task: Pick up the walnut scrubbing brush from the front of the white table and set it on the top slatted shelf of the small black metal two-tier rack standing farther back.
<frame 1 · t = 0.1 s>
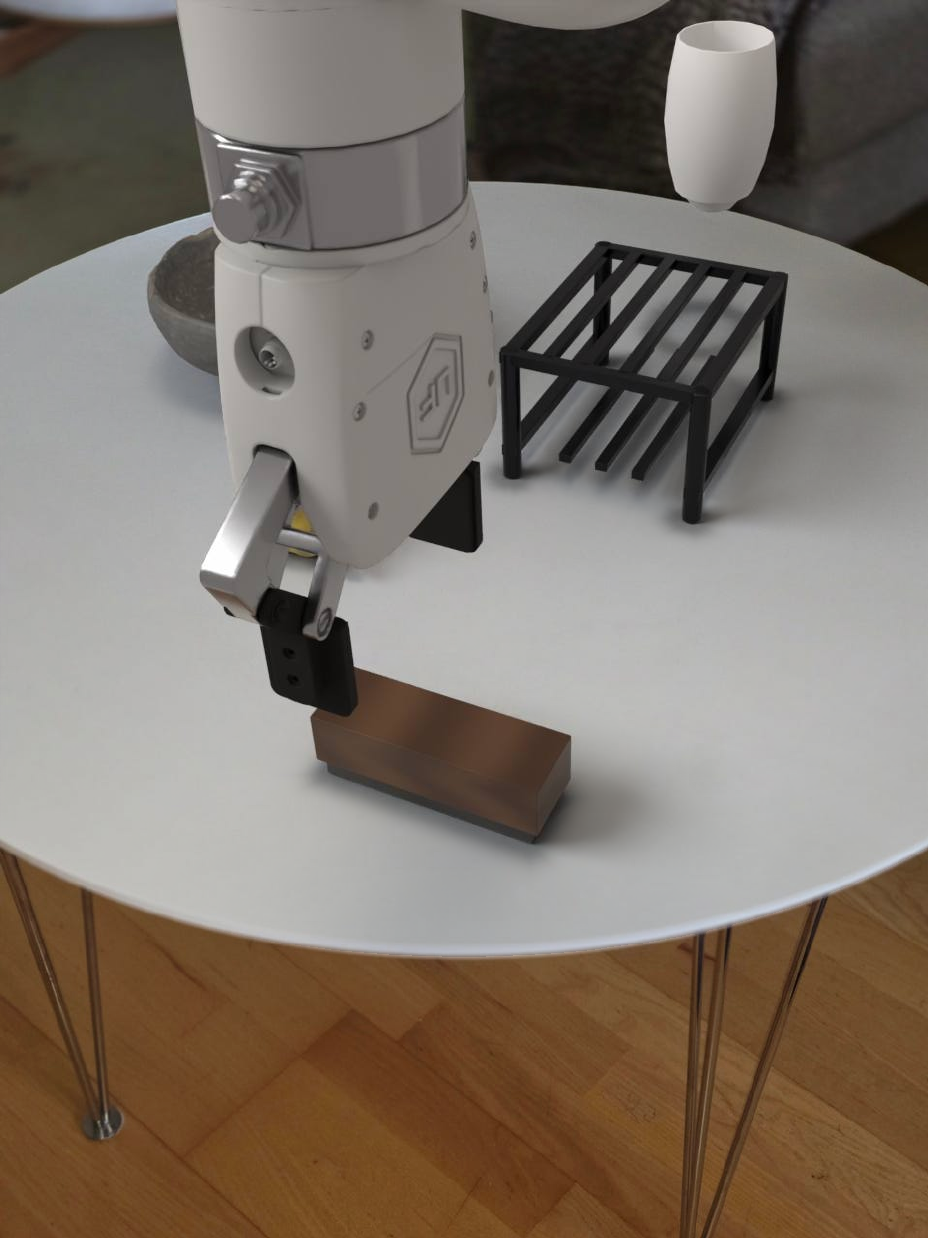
hand: (383, 615, 50), 18 cm above the table, tool pointing down, fingers open, 9 cm apart
bowl: (288, 363, 100), on the table
cup: (701, 329, 101), on the table
brush: (443, 782, 68), on the table
rack: (642, 433, 90), on the table
fruit: (313, 547, 83), on the table
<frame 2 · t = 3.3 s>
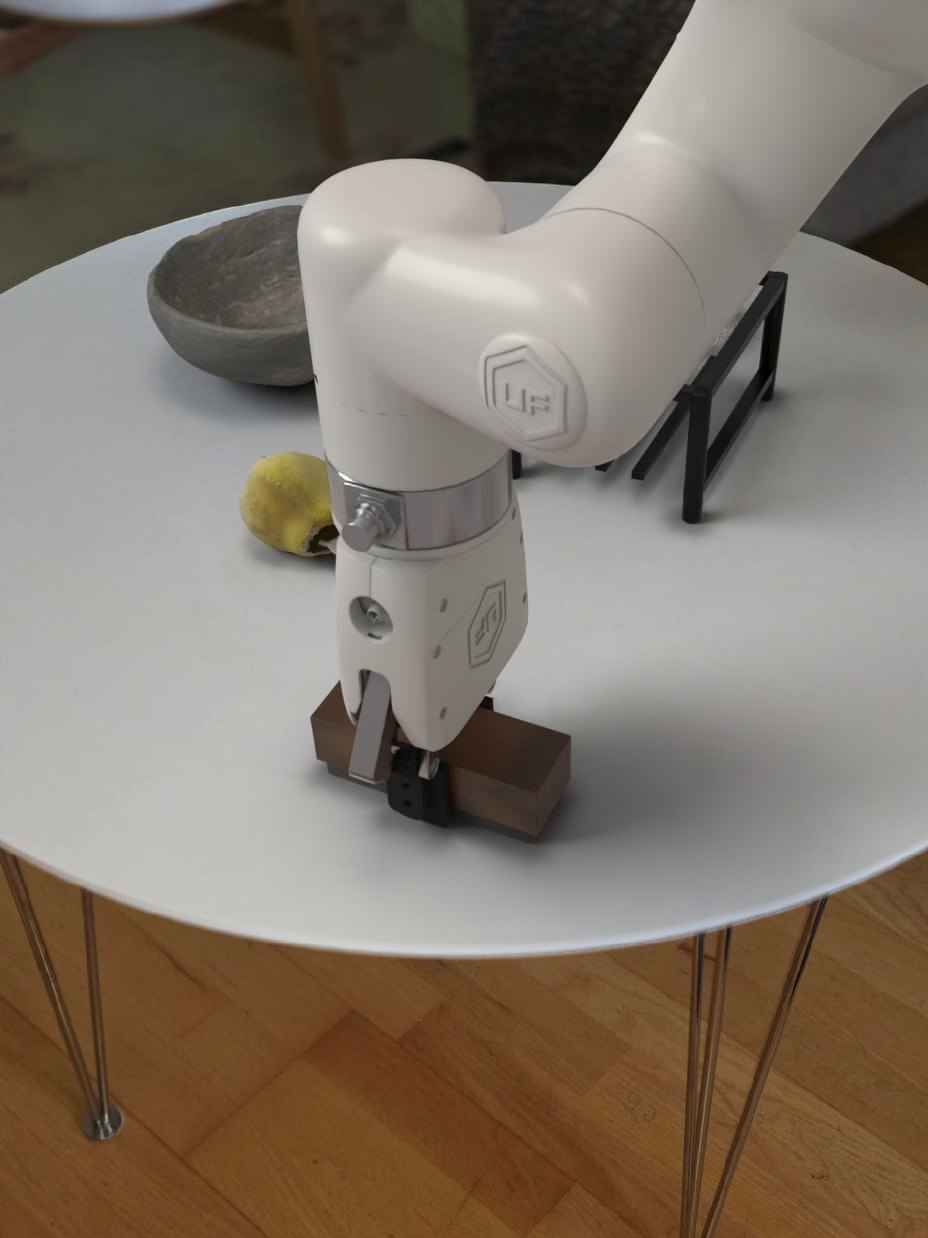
hand: (442, 778, 67), 0 cm above the table, tool pointing down, fingers closed on brush, 4 cm apart
brush: (443, 782, 68), on the table, touching gripper
everything else where it was.
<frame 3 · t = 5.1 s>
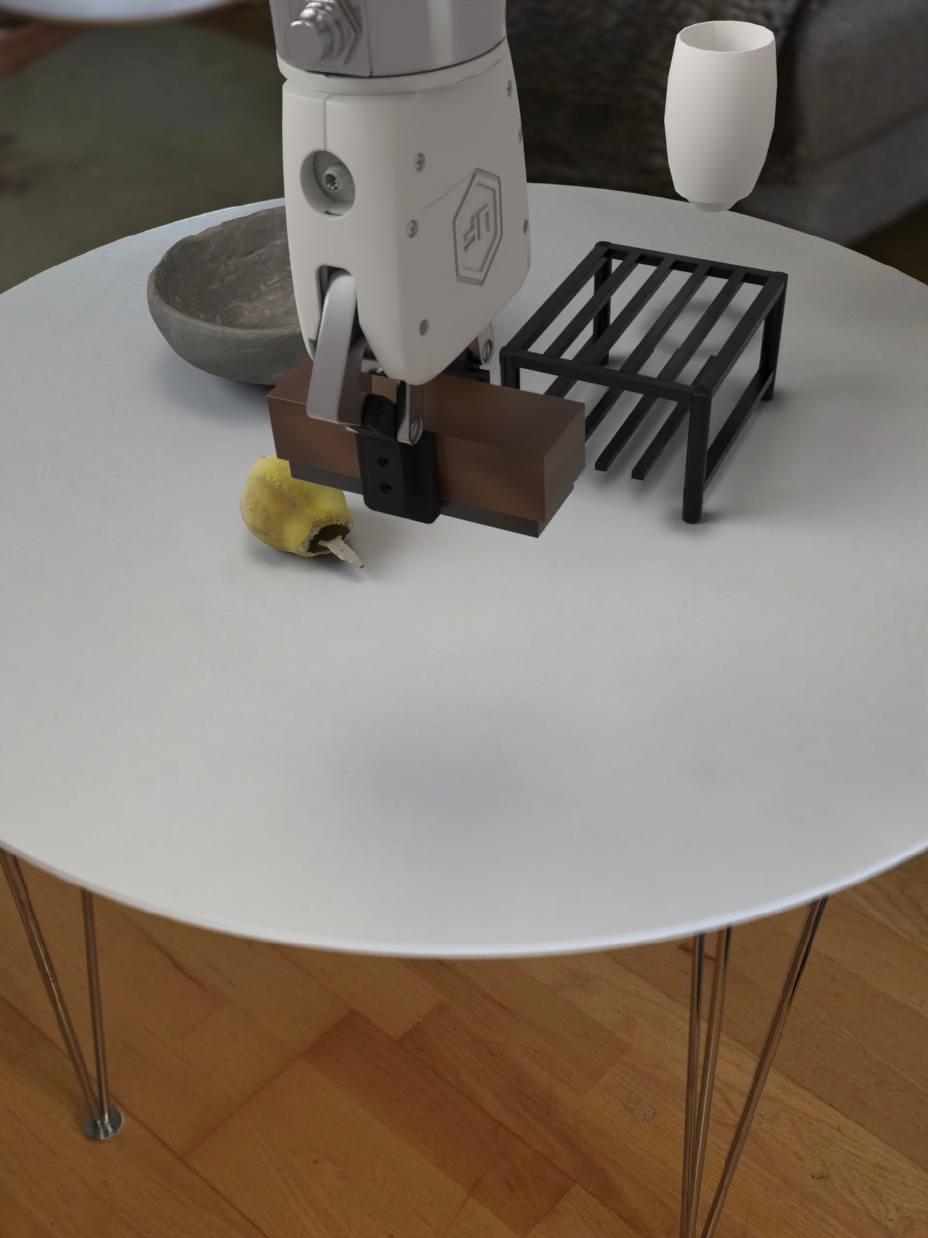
hand: (430, 476, 55), 18 cm above the table, tool pointing down, fingers closed on brush, 4 cm apart
brush: (430, 483, 56), point 18 cm above the table, touching gripper
everything else where it was.
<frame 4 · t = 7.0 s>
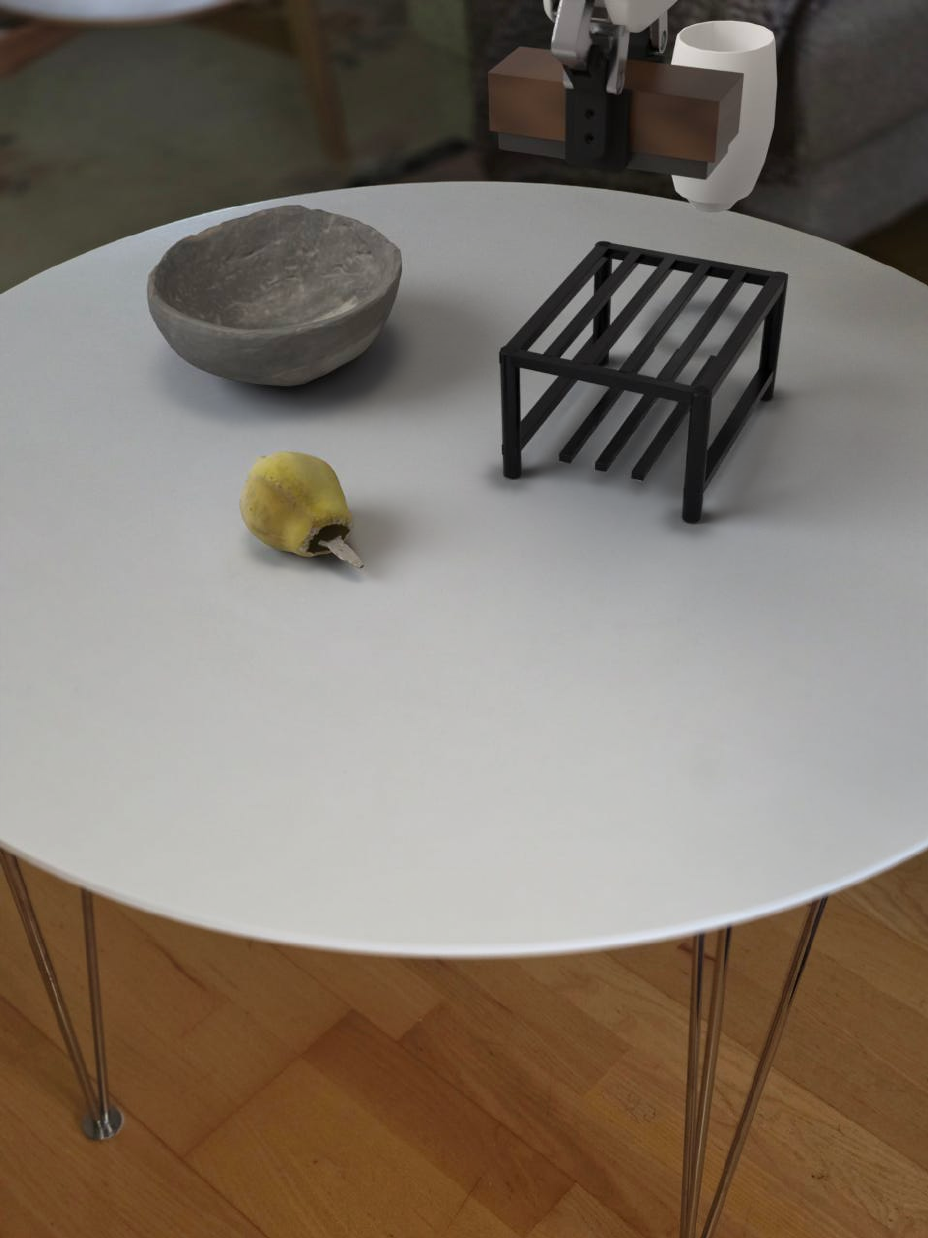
hand: (613, 145, 70), 23 cm above the table, tool pointing down, fingers closed on brush, 4 cm apart
brush: (612, 151, 70), point 22 cm above the table, touching gripper
everything else where it was.
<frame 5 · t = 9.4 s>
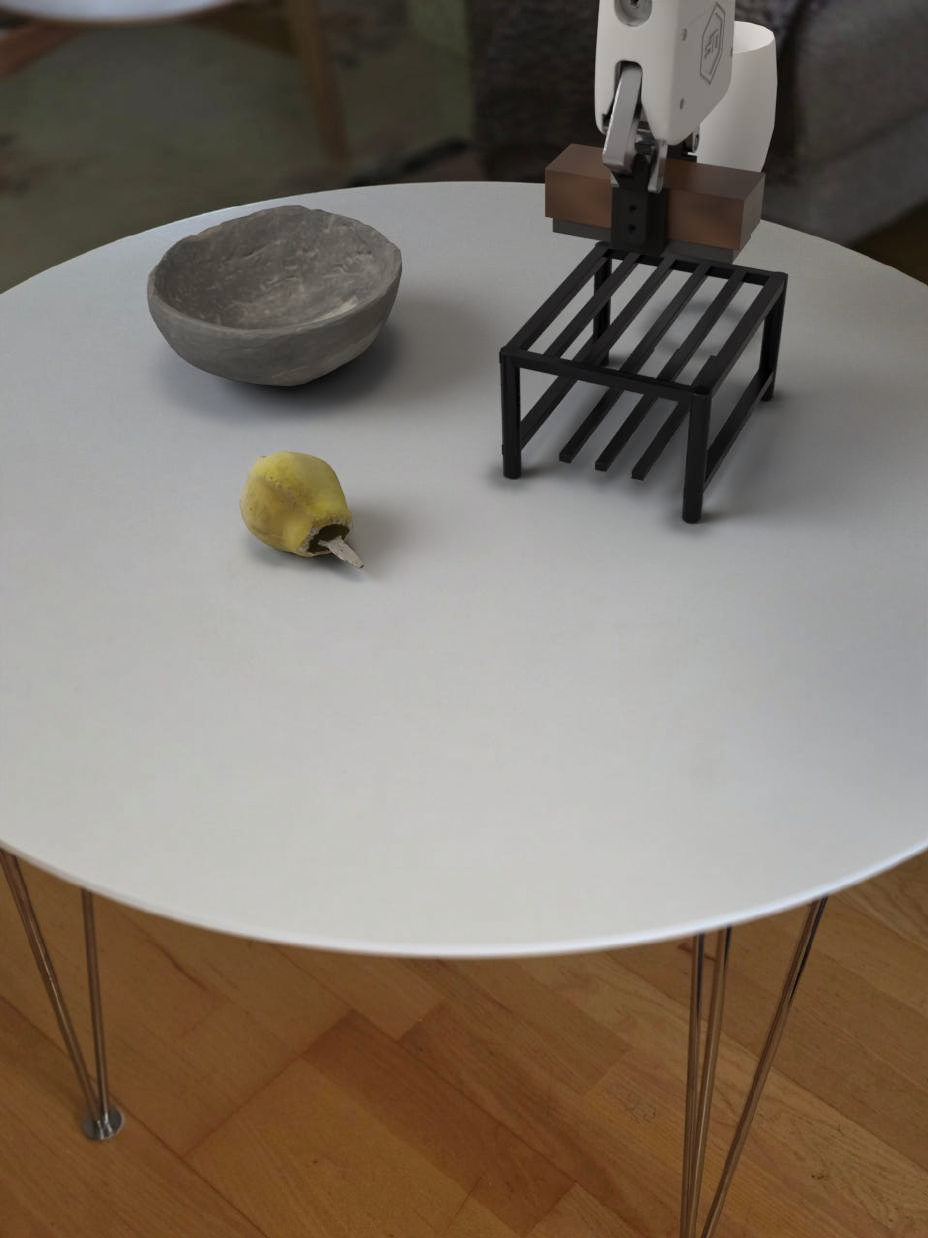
hand: (652, 230, 81), 14 cm above the table, tool pointing down, fingers closed on brush, 4 cm apart
brush: (650, 235, 81), point 14 cm above the table, touching gripper
everything else where it was.
when the fingers open (9 cm above the table, at t = 10.9 s): brush stays where it is, resting on rack.
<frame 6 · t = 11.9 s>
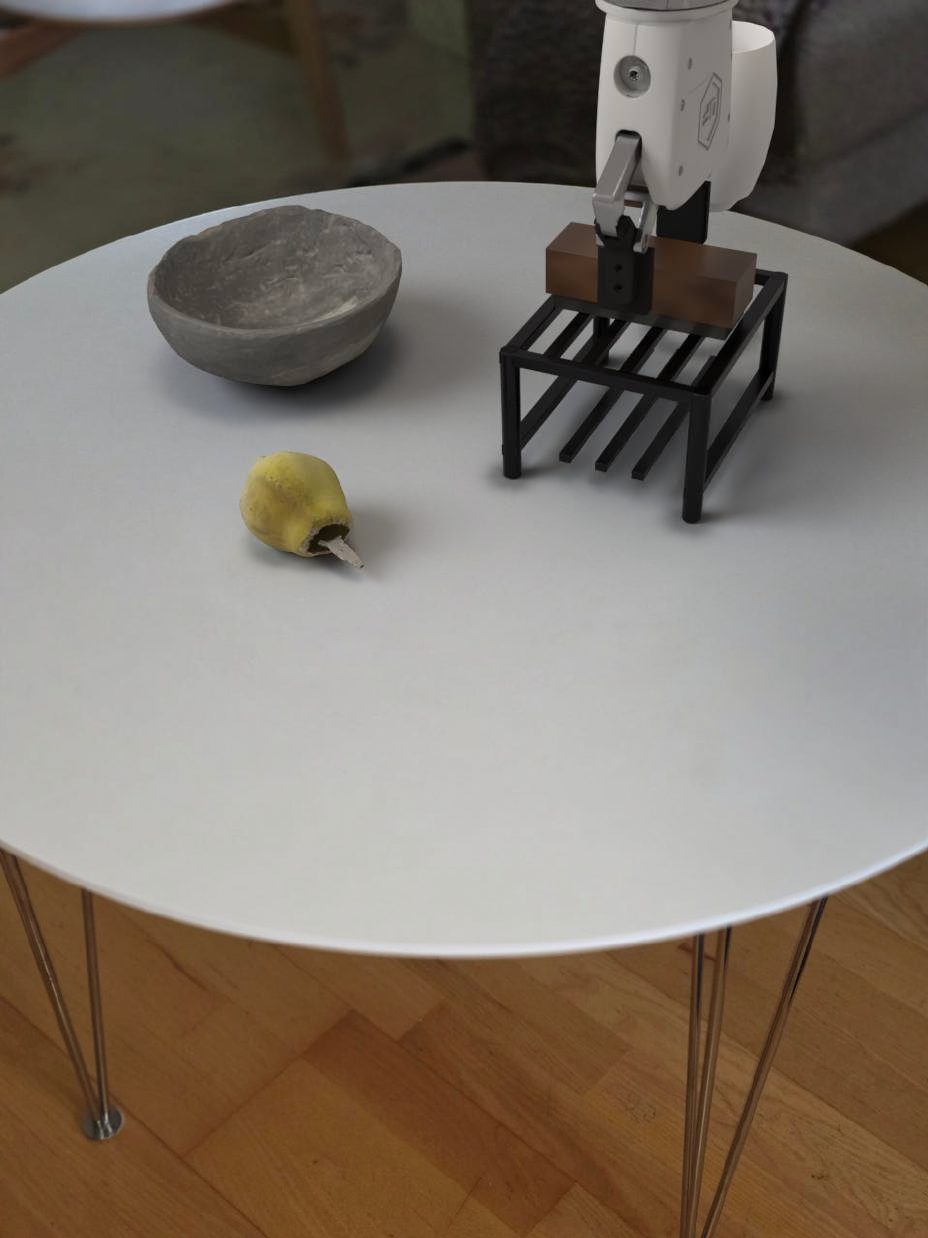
hand: (653, 273, 83), 12 cm above the table, tool pointing down, fingers open, 9 cm apart
brush: (647, 310, 85), point 9 cm above the table, touching rack
everything else where it was.
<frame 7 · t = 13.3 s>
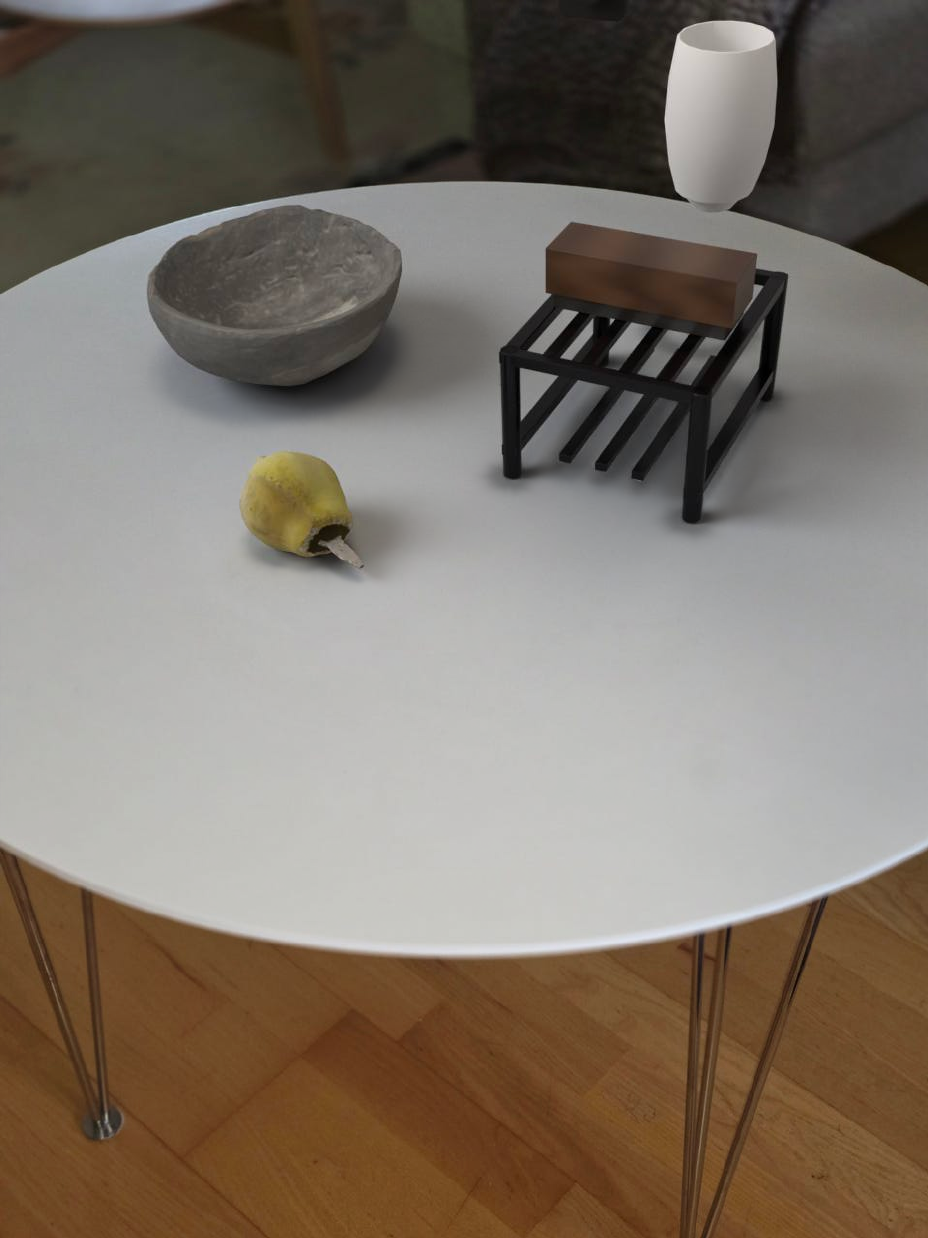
nothing on the table moved.
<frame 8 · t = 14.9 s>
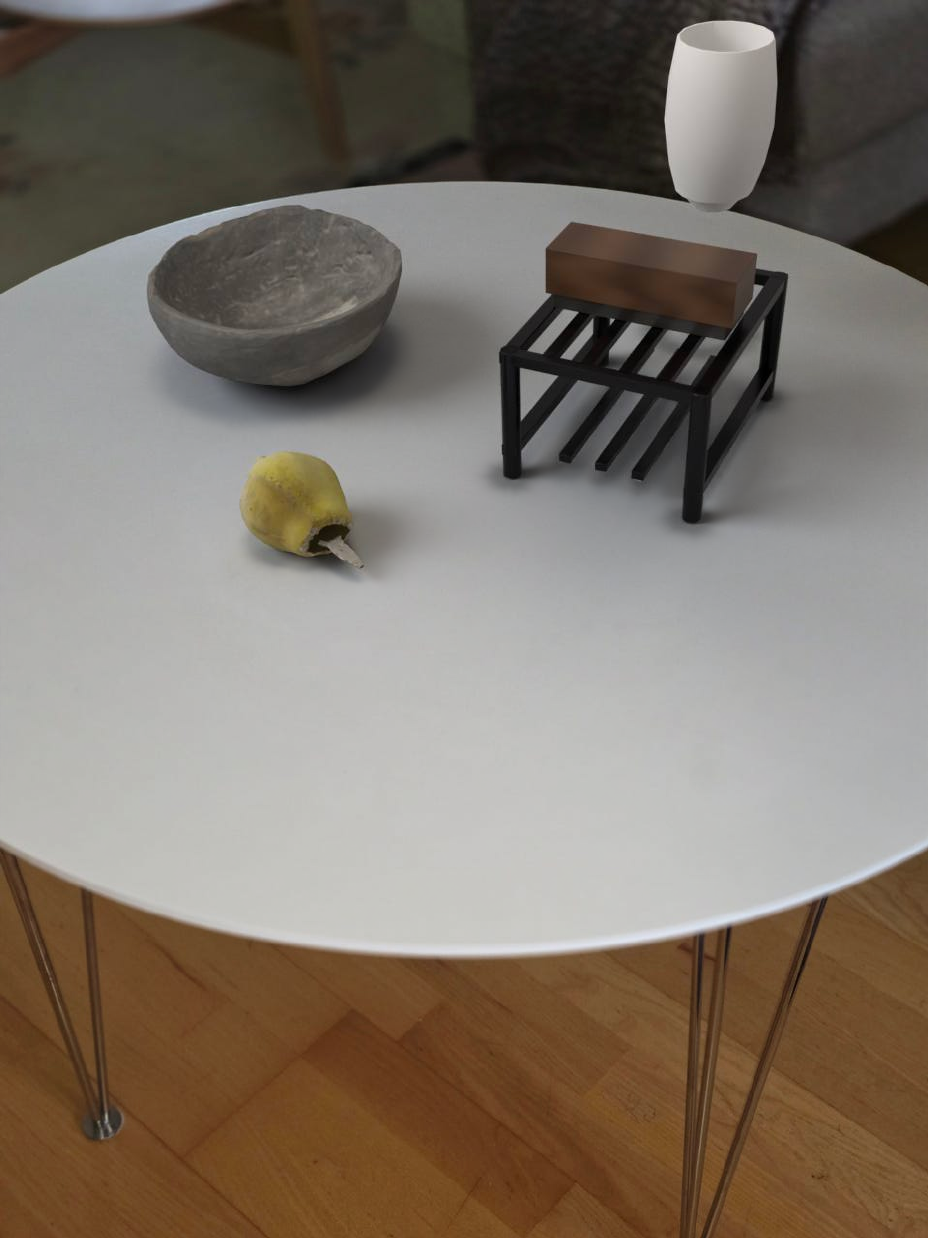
nothing on the table moved.
at the end: brush inside the target area on the rack (0.1 cm from its centre), point 9.0 cm above the rack's base; brush tilted 0°; the gripper is holding nothing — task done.
